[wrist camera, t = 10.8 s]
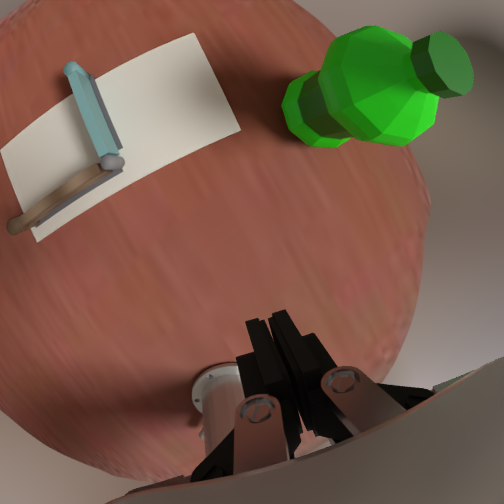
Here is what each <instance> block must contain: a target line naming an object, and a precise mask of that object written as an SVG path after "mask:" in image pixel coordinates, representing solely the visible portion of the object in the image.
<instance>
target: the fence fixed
mask: <svg viewBox="0 0 504 504" xmlns="http://www.w3.org/2000/svg"><path fill="white" fill-rule="evenodd" d="M112 172H113V170H105V169H103V168H102V167H101V164H100V163H95V164H93V165H92V166H90V167H89V168H87V169H85V170H84V171H82V172H81V173H79V174H78V175H76V176H75V177H73V178H72V179H70V180H69V181H67V182H66V183H64V184H63V185H61V186H60V187H59V188H57V189H56V190H54V191H53V192H51V193H50V194H49V195H47V196H46V197H45V198H43V199H42V200H41V201H39V202H38V203H37V204H35V205H34V206H33V207H31V208H30V209H29V210H27V211H26V212H25V213H24V214H22V215H21V216H18V217H15V218H12V219H10V220H8V222H7V230H8V232H9V234H11V235H16V234H18V233H20V232H23V231H25V230H27V229H30V228H32V227H34V226H37V225H38V224H39V223H40V219H42V218H43V217H45V216H46V215H47V214H49V213H50V212H52V211H53V210H54V209H56V208H57V207H59V206H60V205H62V204H63V203H65V202H66V201H68V200H69V199H71V198H72V197H74V196H75V195H77V194H78V193H80V192H81V191H83V190H84V189H86V188H88V187H89V186H91V185H92V184H94V183H96V182H97V181H99V180H100V179H102V178H104V177H105V176H107V175H109V174H110V173H112Z"/></svg>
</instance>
